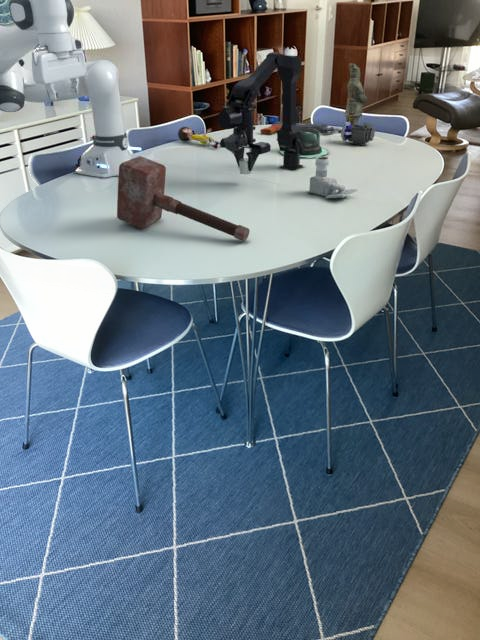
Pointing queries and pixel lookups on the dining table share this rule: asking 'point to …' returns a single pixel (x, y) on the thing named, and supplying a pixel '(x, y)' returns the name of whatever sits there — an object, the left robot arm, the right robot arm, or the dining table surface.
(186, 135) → the figurine
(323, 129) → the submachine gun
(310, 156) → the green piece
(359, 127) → the toy
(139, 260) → the dining table surface
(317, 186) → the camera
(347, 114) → the statue
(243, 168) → the can
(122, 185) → the sledgehammer
